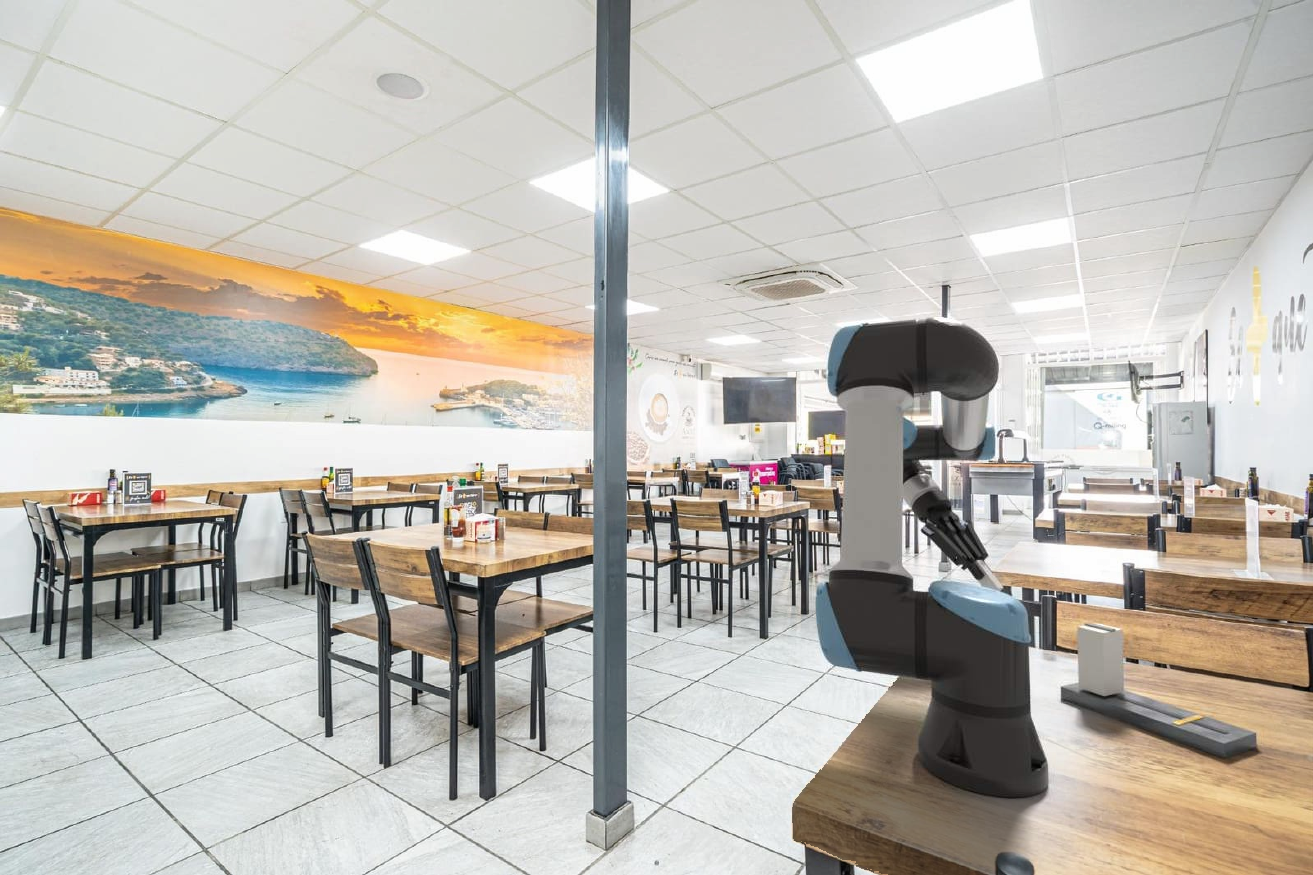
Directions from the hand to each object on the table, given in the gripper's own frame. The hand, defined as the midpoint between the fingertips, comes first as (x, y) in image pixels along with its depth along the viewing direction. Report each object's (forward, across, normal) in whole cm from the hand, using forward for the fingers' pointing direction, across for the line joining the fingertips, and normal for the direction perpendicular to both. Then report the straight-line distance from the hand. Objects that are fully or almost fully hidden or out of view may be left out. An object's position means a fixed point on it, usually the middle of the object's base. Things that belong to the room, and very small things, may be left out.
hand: (996, 592), depth 118 cm
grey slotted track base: (+28, 0, -8) cm, 30 cm away
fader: (+22, 0, -5) cm, 22 cm away
